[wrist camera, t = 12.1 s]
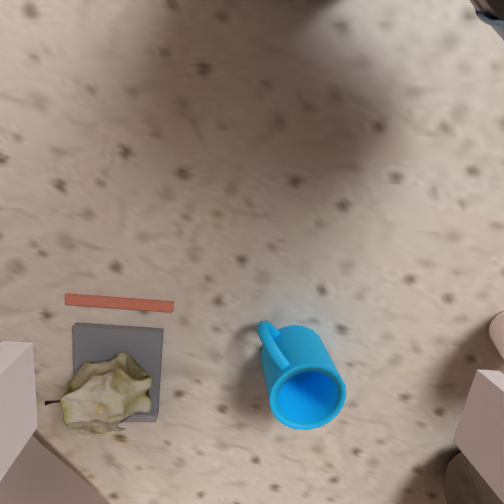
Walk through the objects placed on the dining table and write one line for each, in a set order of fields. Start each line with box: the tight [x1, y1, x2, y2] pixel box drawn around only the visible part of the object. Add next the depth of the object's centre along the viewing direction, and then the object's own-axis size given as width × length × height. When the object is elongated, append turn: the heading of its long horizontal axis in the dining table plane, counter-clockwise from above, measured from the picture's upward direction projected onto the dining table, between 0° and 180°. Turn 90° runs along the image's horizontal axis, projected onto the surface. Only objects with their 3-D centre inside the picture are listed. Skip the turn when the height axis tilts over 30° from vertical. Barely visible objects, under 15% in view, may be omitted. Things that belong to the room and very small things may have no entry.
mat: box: [73, 323, 163, 422], centre depth 41 cm, size 12×10×2 cm
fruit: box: [45, 352, 152, 434], centre depth 37 cm, size 9×9×8 cm
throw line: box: [65, 294, 174, 312], centre depth 39 cm, size 1×12×1 cm, turn 83°
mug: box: [257, 321, 346, 430], centre depth 39 cm, size 12×8×8 cm
